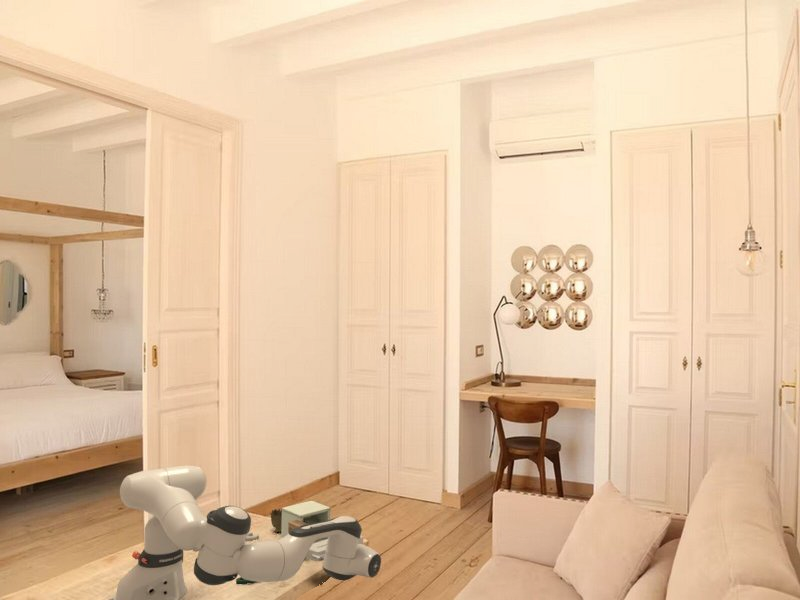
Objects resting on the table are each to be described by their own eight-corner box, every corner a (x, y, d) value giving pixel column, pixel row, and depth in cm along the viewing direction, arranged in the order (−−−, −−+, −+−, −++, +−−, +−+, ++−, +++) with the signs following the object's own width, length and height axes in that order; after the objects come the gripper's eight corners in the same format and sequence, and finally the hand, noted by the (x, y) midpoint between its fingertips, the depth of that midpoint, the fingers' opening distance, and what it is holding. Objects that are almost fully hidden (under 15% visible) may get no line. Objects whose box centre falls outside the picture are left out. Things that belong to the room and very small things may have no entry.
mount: (238, 586, 208) (238, 571, 208) (234, 581, 211) (234, 566, 211) (270, 579, 213) (271, 564, 213) (265, 574, 217) (266, 559, 217)
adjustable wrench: (194, 554, 235) (194, 549, 235) (189, 548, 240) (189, 543, 240) (260, 540, 249) (260, 535, 249) (254, 535, 254) (254, 530, 254)
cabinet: (300, 552, 236) (301, 516, 236) (279, 542, 246) (280, 508, 246) (332, 542, 246) (332, 508, 247) (311, 533, 256) (311, 500, 256)
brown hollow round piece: (285, 535, 253) (285, 515, 253) (267, 534, 254) (267, 513, 255) (291, 528, 261) (291, 509, 261) (274, 527, 262) (274, 507, 262)
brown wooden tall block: (297, 560, 229) (297, 526, 229) (287, 555, 233) (287, 522, 233) (306, 557, 232) (307, 523, 232) (297, 552, 236) (297, 519, 236)
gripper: (318, 569, 207) (293, 557, 217) (366, 553, 221) (340, 542, 231) (318, 549, 207) (293, 538, 217) (366, 534, 221) (341, 524, 231)
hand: (318, 540), depth 224 cm, fingers open, 8 cm apart
